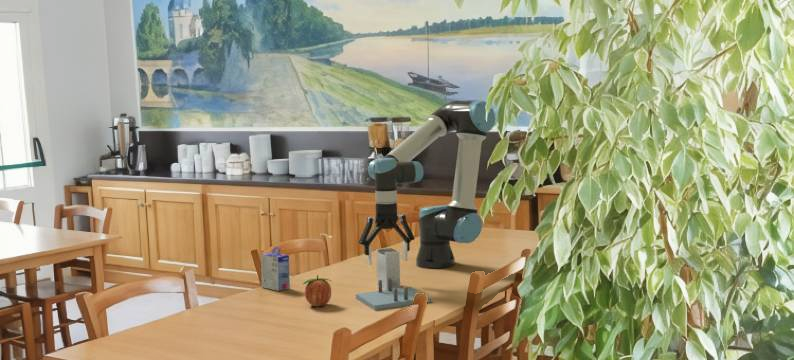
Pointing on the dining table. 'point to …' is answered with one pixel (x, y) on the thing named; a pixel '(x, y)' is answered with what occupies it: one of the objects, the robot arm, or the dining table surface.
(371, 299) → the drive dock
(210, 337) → the dining table surface
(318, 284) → the fruit
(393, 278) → the grey tall block
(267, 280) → the ink cartridge box
